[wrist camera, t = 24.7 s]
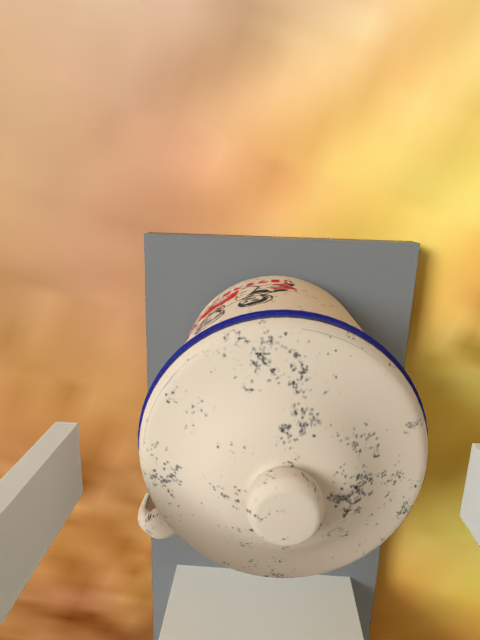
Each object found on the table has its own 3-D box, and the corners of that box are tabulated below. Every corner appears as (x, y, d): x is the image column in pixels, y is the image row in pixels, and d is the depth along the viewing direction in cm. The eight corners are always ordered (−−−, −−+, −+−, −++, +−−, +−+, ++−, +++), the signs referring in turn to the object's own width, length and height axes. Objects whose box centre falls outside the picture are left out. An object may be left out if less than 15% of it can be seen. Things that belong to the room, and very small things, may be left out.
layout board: (159, 684, 30) (154, 706, 29) (150, 232, 22) (142, 234, 21) (354, 700, 29) (358, 724, 28) (411, 241, 22) (421, 243, 20)
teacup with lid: (278, 228, 21) (298, 257, 9) (403, 363, 22) (554, 531, 11) (108, 392, 23) (-37, 571, 12) (230, 504, 24) (204, 760, 13)
